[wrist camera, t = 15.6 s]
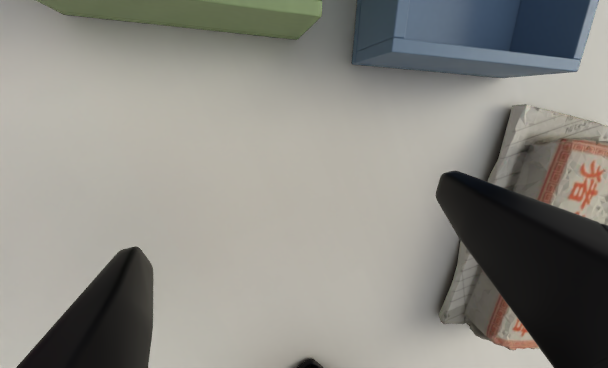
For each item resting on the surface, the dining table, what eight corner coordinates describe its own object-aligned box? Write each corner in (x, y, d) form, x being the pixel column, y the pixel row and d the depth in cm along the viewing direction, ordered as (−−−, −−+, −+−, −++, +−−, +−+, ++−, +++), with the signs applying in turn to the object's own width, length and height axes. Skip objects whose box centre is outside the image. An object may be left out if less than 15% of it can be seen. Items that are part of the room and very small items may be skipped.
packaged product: (575, 357, 22) (477, 363, 20) (518, 314, 27) (432, 314, 24) (692, 133, 18) (588, 102, 16) (601, 126, 23) (508, 101, 20)
